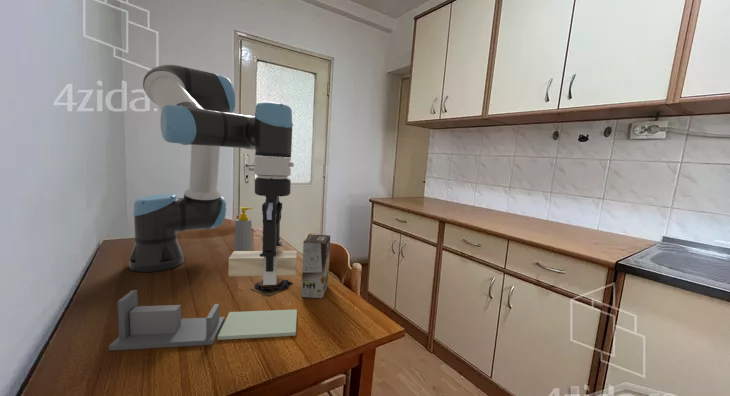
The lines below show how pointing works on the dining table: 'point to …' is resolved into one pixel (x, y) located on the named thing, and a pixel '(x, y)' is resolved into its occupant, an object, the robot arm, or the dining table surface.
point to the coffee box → (315, 266)
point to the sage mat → (259, 324)
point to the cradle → (162, 326)
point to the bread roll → (271, 287)
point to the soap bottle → (243, 232)
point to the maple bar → (260, 263)
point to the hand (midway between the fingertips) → (271, 278)
